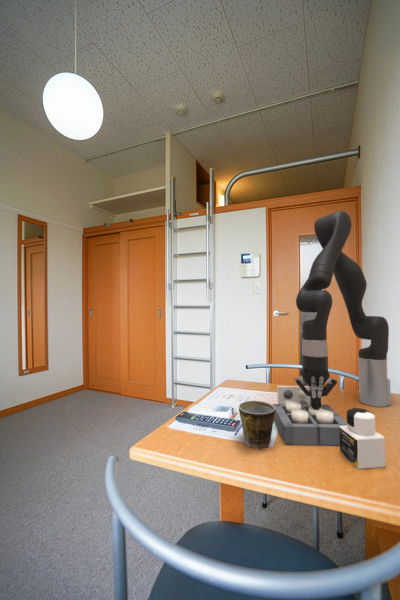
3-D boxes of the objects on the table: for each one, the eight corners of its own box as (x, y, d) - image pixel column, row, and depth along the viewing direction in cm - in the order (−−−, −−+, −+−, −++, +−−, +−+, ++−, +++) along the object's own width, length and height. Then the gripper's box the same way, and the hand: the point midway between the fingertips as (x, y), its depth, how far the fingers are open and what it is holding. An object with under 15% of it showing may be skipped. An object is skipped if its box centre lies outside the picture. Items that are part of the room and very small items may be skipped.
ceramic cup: (247, 431, 84) (246, 398, 84) (280, 439, 79) (279, 404, 79) (229, 451, 73) (228, 413, 73) (266, 462, 67) (265, 421, 68)
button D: (305, 419, 82) (305, 409, 82) (310, 426, 78) (310, 415, 78) (289, 419, 83) (289, 409, 83) (294, 426, 78) (293, 415, 78)
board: (328, 419, 91) (328, 404, 91) (353, 446, 74) (352, 427, 74) (273, 419, 92) (272, 404, 92) (284, 444, 75) (284, 426, 76)
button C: (298, 410, 89) (298, 401, 89) (303, 416, 85) (303, 406, 85) (284, 410, 90) (284, 401, 90) (287, 416, 85) (287, 406, 85)
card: (312, 411, 98) (311, 386, 98) (313, 412, 97) (312, 387, 97) (277, 411, 99) (277, 385, 99) (278, 412, 98) (278, 386, 98)
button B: (329, 419, 82) (329, 409, 82) (336, 426, 77) (336, 416, 77) (313, 419, 82) (313, 409, 82) (319, 426, 77) (319, 415, 77)
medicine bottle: (339, 453, 71) (338, 406, 71) (365, 451, 72) (364, 405, 72) (357, 469, 64) (356, 417, 64) (386, 467, 64) (385, 416, 65)
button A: (321, 415, 89) (321, 406, 89) (326, 421, 84) (326, 411, 84) (306, 415, 89) (306, 406, 89) (311, 421, 84) (311, 411, 84)
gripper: (331, 351, 90) (332, 405, 90) (290, 351, 91) (291, 404, 91) (341, 355, 83) (342, 414, 82) (296, 355, 84) (297, 413, 83)
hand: (315, 408), depth 87 cm, fingers closed
